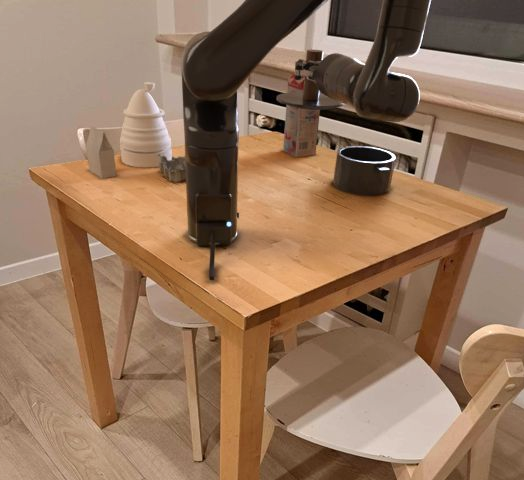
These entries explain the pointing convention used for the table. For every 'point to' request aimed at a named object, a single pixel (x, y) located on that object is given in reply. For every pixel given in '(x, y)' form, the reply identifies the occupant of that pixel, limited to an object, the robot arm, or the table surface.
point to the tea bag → (100, 154)
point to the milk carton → (300, 125)
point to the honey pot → (144, 131)
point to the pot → (363, 170)
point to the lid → (309, 92)
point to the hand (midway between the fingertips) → (308, 64)
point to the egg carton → (173, 168)
